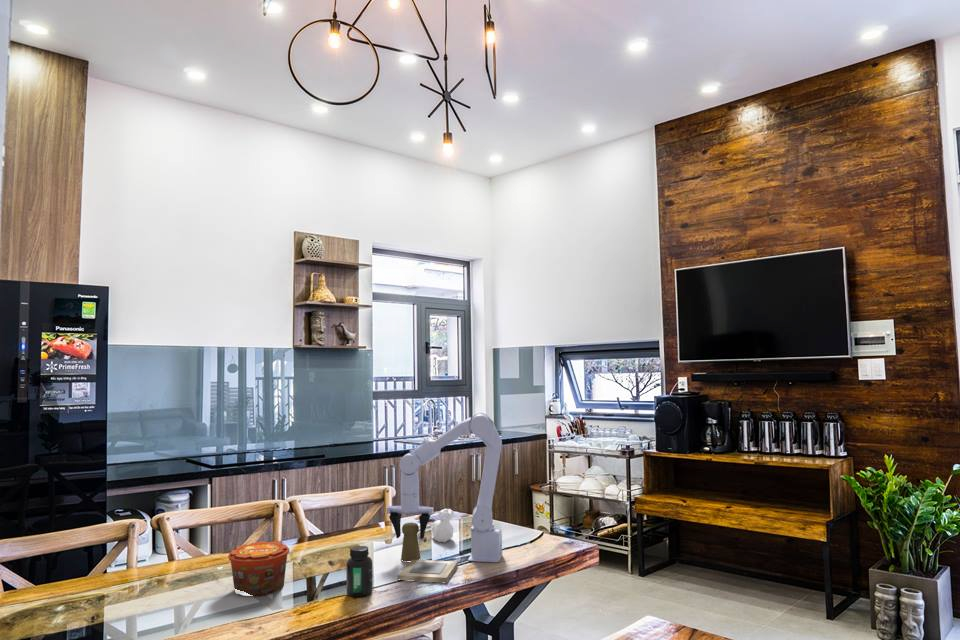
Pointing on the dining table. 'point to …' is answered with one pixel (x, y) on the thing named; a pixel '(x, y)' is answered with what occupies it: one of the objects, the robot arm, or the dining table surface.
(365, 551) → the supplement bottle
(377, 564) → the dining table surface
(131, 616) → the dining table surface
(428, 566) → the base board
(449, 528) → the bust
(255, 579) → the food container
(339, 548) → the dining table surface
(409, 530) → the cork
